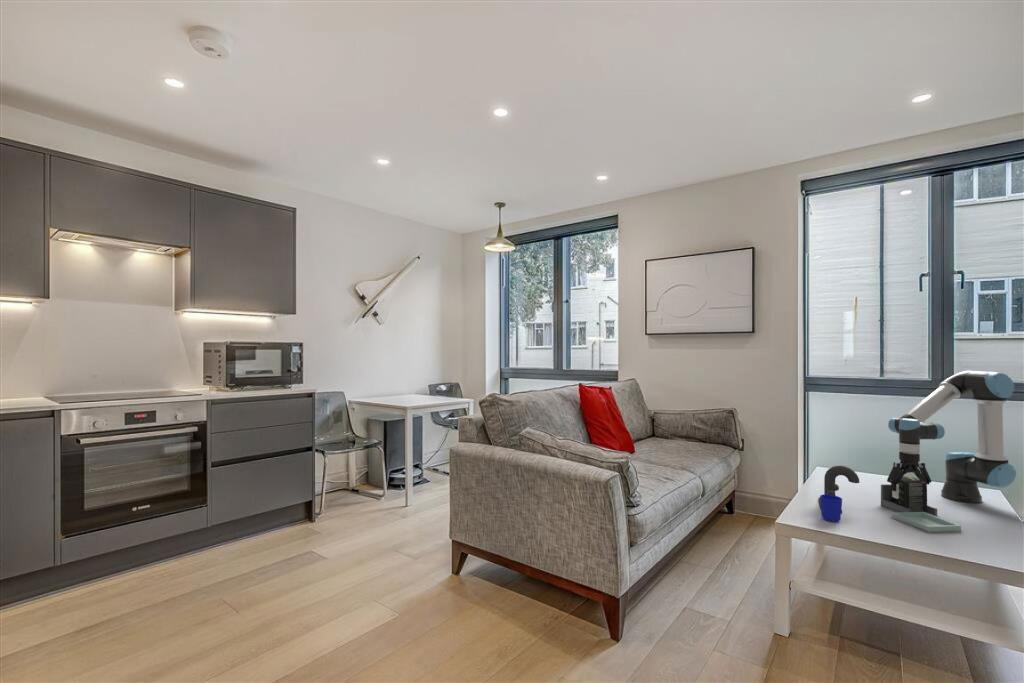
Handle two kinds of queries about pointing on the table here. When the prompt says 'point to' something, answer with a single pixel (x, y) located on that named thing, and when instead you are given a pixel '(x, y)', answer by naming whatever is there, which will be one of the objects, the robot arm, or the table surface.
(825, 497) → the mug
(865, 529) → the table surface
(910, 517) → the tray
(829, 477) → the faucet
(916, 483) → the dark grey box
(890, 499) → the bay
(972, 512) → the table surface
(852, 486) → the table surface
